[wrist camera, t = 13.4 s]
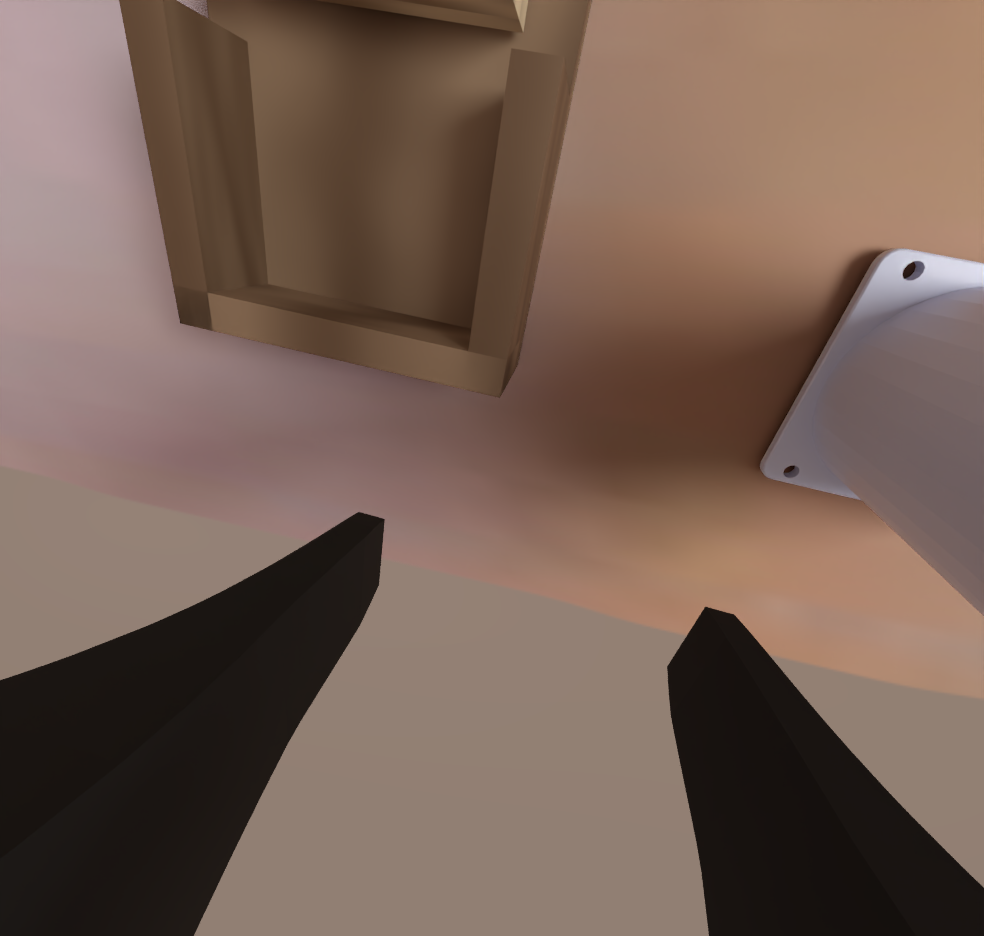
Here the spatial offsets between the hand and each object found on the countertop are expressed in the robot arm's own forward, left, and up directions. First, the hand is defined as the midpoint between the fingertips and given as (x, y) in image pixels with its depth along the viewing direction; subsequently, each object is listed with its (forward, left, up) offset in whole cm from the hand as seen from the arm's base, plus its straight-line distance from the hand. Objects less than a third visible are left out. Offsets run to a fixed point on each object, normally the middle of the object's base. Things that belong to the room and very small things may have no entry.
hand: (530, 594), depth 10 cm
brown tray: (+8, -9, -10) cm, 15 cm away
